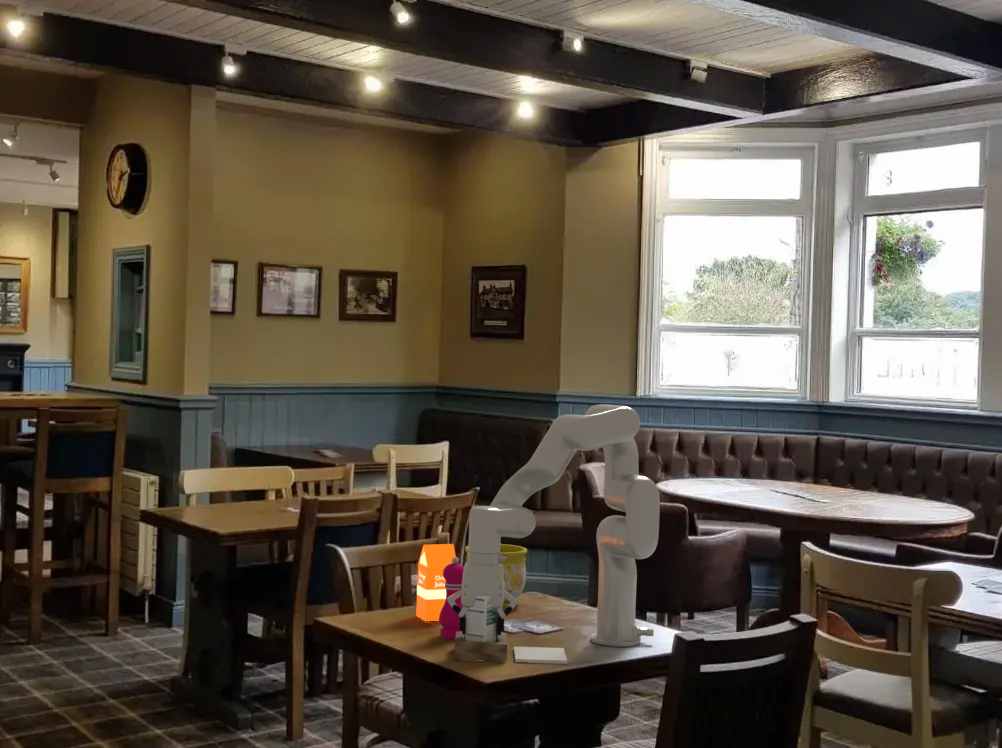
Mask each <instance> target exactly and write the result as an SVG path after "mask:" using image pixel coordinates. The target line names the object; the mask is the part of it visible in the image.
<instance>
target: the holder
mask: <svg viewBox="0 0 1002 748" xmlns="http://www.w3.org/2000/svg"><path fill="white" fill-rule="evenodd" d="M507 659H508V639H507V632H501V636H499V635H498V642H468V641H465V634H464V635H463V634H462V632H457V631H456V639H454V660H467V661H466V662H470V661H469V660H484V661H483V662H486V661H507V662H508V660H507Z"/></svg>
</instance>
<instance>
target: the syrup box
mask: <svg viewBox="0 0 1002 748" xmlns="http://www.w3.org/2000/svg"><path fill="white" fill-rule="evenodd" d="M498 617H499V613H498V611H497V610H496V608H491V604H490V596H485V595H477V597H476V600H475V604H474V607H471V608H469V609H468V610H467V611H466V625H465V641H468V642H498Z"/></svg>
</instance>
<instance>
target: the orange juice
mask: <svg viewBox="0 0 1002 748" xmlns="http://www.w3.org/2000/svg"><path fill="white" fill-rule="evenodd" d="M454 545H455V544H454V543H442V544H441V543H440V544H437V543H436V544H423V546H422V549H421V553H420V557H419V559H418V562H417V585H416V609H415V611H416V613H415V617H416V616H417V617H416V618H418V617H419V618H421V619H422V620H421V619H420V620H421V621H423V620H424V621H425V622H424V621H423V622H424V623H430V622H429V621H439V615H440V612H441V610H442V608H443V606H444V603H445V600H446V589H445V588H444V587H445V582H446V580H445V579H444V577H443V570H444V568H445V567H446V566H447V565H448V564H451V563H452V559H453V558H454V557H457V554H456V551H455V546H454ZM419 618H418V619H419ZM426 621H428V622H426Z"/></svg>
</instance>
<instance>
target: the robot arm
mask: <svg viewBox="0 0 1002 748" xmlns="http://www.w3.org/2000/svg"><path fill="white" fill-rule="evenodd" d="M640 426H641V420H640V416H639V414H638V413H637V411H636V410H635V409H633V408H632V407H629V406H626V405H615V404H595V405H592V406H591V407H589V408H588V409H587V410H586V411H585V414H583V415H582V414H572V413H571V414H562V415H560V416H559V415H558V417H556V419H554V421H553V423H552V424H551V425H550V427H549V429H548V430H547V432H546V433H545V435H544V437H543V438H542V440H541V442H540V443H539V445H538V446H537V448H536V449H535V451H534V452H533V454H532V456H531V458H530V459H529V460H528V461H527V463H525V465H523V466H522V467H521V468H520V469H518V470H517V471H516V472H515V473H514V474H513V475H511V477H510V478H509V479H507V480H506V481H505V482H504V484H503V485H502V486H501V487H500V489H499V490H498V491H497V494H496V495H495V497H494V498H493V500H492V502H491V504H490V505H489V506H488V505H479V506H478V505H477V506H474V507H472V508H471V509H470V512H469V523H468V524H469V525H468V526H469V527H468V546H469V547H468V563H466V562H465V564H464V565H463V566H464V570H463V577H462V589H460V590H459V591H457V592H456V593H454V594H453V595H451V596H450V597H448V599H447V601H448V602H449V604H450V605H451V607H452V608H453V610H454V611H455V612H456V613H457V614H458V615H459V617H460V626H459V630H462V634H463V635H464V634H465V625H466V616H465V613H466V611H467V610H468V609H469V608H471V607H474V604H475V600H476V597H477V595H485V596H490V604H491V608H496V610H497V611H498V635H499V636H501V633H502V632H504V631H505V619H506V617H507V616H509V614H510V613H511V612H512V611H513V609H515V608H516V606H517V605H518V603H519V602H518V600H517V599H518V598H517V599H516V598H515V597H513V596H512V595H511V594H509V593H508V592H507V591H505V590H504V570H503V565H501V564H500V562H501V561H503V560H504V561H506V555H503V554H501V553H500V544H501V540H502V539H501V538H502V537H503V538H511V539H523V538H526V537H528V536H530V535H532V533H533V531H534V530H535V528H536V525H537V523H536V517H535V515H534V513H533V512H532V511H531V510H530V509H528V508H527V507H524V506H523V504H525V502H526V501H527V500H528V499H529V498H530V497H531V496H532V495H534V494H535V493H536V492H539V491H541V490H543V489H545V488H547V487H550V486H551V485H554V484H555V483H557V482H559V480H560V479H561V477H562V475H563V474H564V473H565V470H566V469H567V467H568V465H569V464H570V462H571V460H572V459H573V457H574V456H575V454H576V452H578V451H583V452H584V451H593V450H599V449H602V450H603V453H604V454H603V455H604V473H603V475H604V477H603V478H604V479H603V498H604V502H605V504H606V505H607V506H608V507H609V508H610V509H613V510H616V511H619V512H624V513H625V516H623V515H619V514H618V515H617V514H615V515H610V516H606V517H605V518H604V519H602V520H601V521H600V523H599V525H598V527H597V530H596V537H595V539H596V546H597V552H598V584H597V585H598V589H597V592H598V594H597V613H596V614H597V615H596V616H597V617H596V618H597V619H596V620H597V621H596V632H594V633H591V635H590V638H589V639H590V641H591V642H592V643H594V644H597V645H600V646H607V647H614V648H615V647H619V648H620V647H621V648H623V647H625V648H626V647H634V646H638V645H640V644H641V637H642V636H646V637H654V636H655V635H654V634H655V633H654V631H655V630H654V628H650V627H645V626H643V627H641V626H638V625H637V623H636V606H637V605H636V604H637V603H636V602H637V600H636V599H637V579H638V577H637V576H638V574H637V573H638V570H637V564H636V563H637V562H636V560H643V559H647V558H649V557H651V556H652V555H653V553H654V552H655V551H656V549H657V546H658V543H659V536H660V535H659V532H660V508H661V497H660V492H659V489H658V487H657V485H656V483H655V482H654V481H653V480H652V479H650V478H649V477H647V476H645V475H644V476H643V475H640V474H639V472H640V471H639V449H638V445H637V443H636V440H635V438H634V437H635V436H636V435H637V434H638V433H639V431H640ZM460 596H461V603H462V605H463V606H462V608H460V607H459V606H458V605H457V604H456V603H455V600H456V599H457V598H459V597H460ZM504 597H505V598H506V599H508V600H509V601H510V602H511V603H510V604H509V606H508V607H506V608H505V609H503V608H502V606H503V605H504Z"/></svg>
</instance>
